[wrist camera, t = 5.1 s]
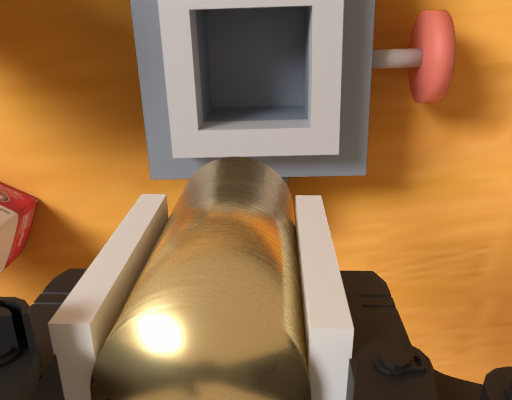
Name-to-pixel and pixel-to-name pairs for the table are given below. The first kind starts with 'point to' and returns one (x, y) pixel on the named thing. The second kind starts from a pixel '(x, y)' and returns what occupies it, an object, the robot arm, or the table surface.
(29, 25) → the table surface
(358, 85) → the valve body
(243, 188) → the brass cylinder
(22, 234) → the ink box
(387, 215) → the table surface
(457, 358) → the table surface
